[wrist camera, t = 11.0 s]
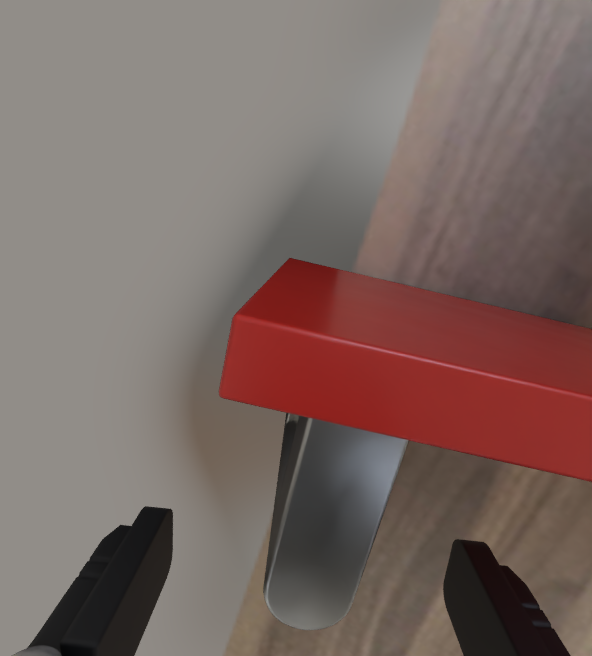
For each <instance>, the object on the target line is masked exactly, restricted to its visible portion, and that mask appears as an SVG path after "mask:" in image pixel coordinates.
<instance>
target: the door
mask: <svg viewBox="0 0 592 656" xmlns="http://www.w3.org/2000/svg"><path fill="white" fill-rule="evenodd" d="M219 395H220V397H222V398H224V399H229V400H233V401H237V402H242V403H246V404H251V405H255V406H259V407H264V408H268V409H273V410H277V411H281V412H286V420H285V428H284V437H283V443H282V451H281V458H280V466H279V473H278V482H277V489H276V496H275V504H274V512H273V519H272V527H271V534H270V542H269V550H268V557H267V565H266V572H265V580H264V588H263V593H264V598H265V601H266V604H267V607H268V609H269V610H270V612H271V613H272V614H273V615H274V616H275V617H276V618H277V619H278V620H279V621H281V622H282V623H284V624H286V625H288V626H291V627H293V628H297V629H302V630H319V629H324V628H327V627H330V626H332V625H334V624H336V623H337V622H339V621H340V620H342V619H343V618H344V617H345V616H346V614H347V613H348V611H349V610H350V608H351V605H352V603H353V600H354V597H355V595H356V592H357V589H358V586H359V583H360V580H361V577H362V574H363V571H364V568H365V566H366V563H367V560H368V557H369V554H370V551H371V548H372V545H373V542H374V540H375V537H376V534H377V531H378V528H379V525H380V522H381V519H382V516H383V513H384V511H385V508H386V505H387V502H388V499H389V496H390V493H391V490H392V487H393V484H394V482H395V479H396V476H397V473H398V470H399V467H400V464H401V461H402V458H403V456H404V453H405V450H406V447H407V444H408V441H414V442H418V443H423V444H427V445H431V446H436V447H440V448H445V449H449V450H453V451H458V452H462V453H467V454H471V455H475V456H480V457H484V458H489V459H493V460H498V461H502V462H506V463H511V464H515V465H520V466H524V467H528V468H533V469H537V470H542V471H546V472H550V473H555V474H559V475H564V476H568V477H573V478H577V479H581V480H586V481H590V482H592V329H590V328H585V327H581V326H577V325H573V324H568V323H564V322H560V321H556V320H551V319H547V318H543V317H539V316H534V315H530V314H526V313H522V312H518V311H513V310H509V309H505V308H501V307H496V306H492V305H488V304H484V303H479V302H475V301H471V300H467V299H462V298H458V297H454V296H450V295H445V294H441V293H437V292H433V291H428V290H424V289H420V288H416V287H411V286H407V285H403V284H399V283H394V282H390V281H386V280H382V279H377V278H373V277H369V276H365V275H360V274H356V273H352V272H348V271H343V270H339V269H335V268H331V267H326V266H322V265H318V264H313V263H309V262H305V261H301V260H296V259H292V258H289V259H288V260H287V261H286V262H285V263H284V264H283V265H282V266H281V267H280V269H278V270H277V272H276V273H275V274H274V275H273V276H272V277H271V278H270V279H269V280H268V281H267V282H266V283H265V284H264V285H263V286H262V287H261V288H260V289H259V290H258V291H257V292H256V293H255V294H254V295H253V296H252V297H251V298H250V299H249V300H248V302H246V304H245V305H244V306H243V307H242V308H241V309H240V310H239V311H238V312H237V313H236V314H235V315H234V317H233V319H232V324H231V329H230V335H229V340H228V345H227V350H226V356H225V361H224V366H223V371H222V377H221V382H220V387H219Z"/></svg>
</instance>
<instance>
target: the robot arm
mask: <svg viewBox="0 0 592 656" xmlns="http://www.w3.org/2000/svg"><path fill="white" fill-rule="evenodd" d="M172 544H173V512H172V510H171V509H166V508H155V507H144V508H143V509H142V510H141V512H140V513H139V515H138V516H137V518H136V520H135V521H134V523H133V524H132V526H124V525H120V526H119V527H117V528H116V529H115V530H114V531H112V532H111V533H110V534H109V535H107V536H106V537H105V538H104V539H103V540H102V541H101V542H100V544H99V545H98V547H97V548H96V550H95V551H94V553H93V554H92V556H91V557H90V560H89V561H88V562H87V563H86V564H85V566H84V567H83V569H82V570H81V572H80V574H79V576H78V577H77V578H76V579H75V581H74V582H73V583H72V585H71V586H70V588H69V589H68V591H67V592H66V594H65V595H64V596H63V598H62V599H61V601H60V602H59V604H58V605H57V607H56V608H55V610H54V611H53V613H52V614H51V615H50V617H49V618H48V620H47V621H46V623H45V624H44V626H43V627H42V629H41V630H40V632H39V633H38V634H37V636H36V637H35V639H34V640H33V641H32V643H31V644H30V645H29V646H28V648H27V649H24V650H22V651H19V652H17V653H16V654H14V655H12V656H134V655H135V653H136V650H137V648H138V645H139V643H140V640H141V638H142V636H143V634H144V631H145V629H146V626H147V624H148V622H149V619H150V616H151V614H152V612H153V610H154V607H155V605H156V603H157V600H158V598H159V595H160V593H161V591H162V588H163V586H164V583H165V581H166V579H167V575H168V573H169V569H170V565H171V560H172V550H173V545H172ZM443 590H444V600H445V605H446V608H447V611H448V614H449V617H450V619H451V622H452V625H453V628H454V630H455V633H456V636H457V638H458V641H459V644H460V647H461V649H462V652H463V655H464V656H570V654H569V653H568V651H567V649H566V648H565V646H564V645H563V643H562V641H561V640H560V638H559V637H558V635H557V633H556V632H555V630H554V629H552V628H551V624H550V622H549V621H548V619H547V617H546V616H545V614H544V613H543V611H542V610H540V608H539V605H538V603H537V601H536V600H535V598H534V596H533V595H532V593H531V592H530V590H529V588H528V587H527V585H526V584H525V583H524V582H523V581H522V580H521V579H520V578H519V577H518V576H517V575H516V574H515V573H514V572H513V571H512V570H511V569H510V568H509V567H508V566H502V565H499V564H498V562H497V560H496V559H495V557H494V555H493V553H492V552H491V550H490V548H489V547H488V545H487V544H486V543H484V542H478V541H468V540H459V539H456V540H455V541H454V542H453V545H452V549H451V554H450V558H449V562H448V566H447V570H446V575H445V579H444V586H443Z"/></svg>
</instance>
